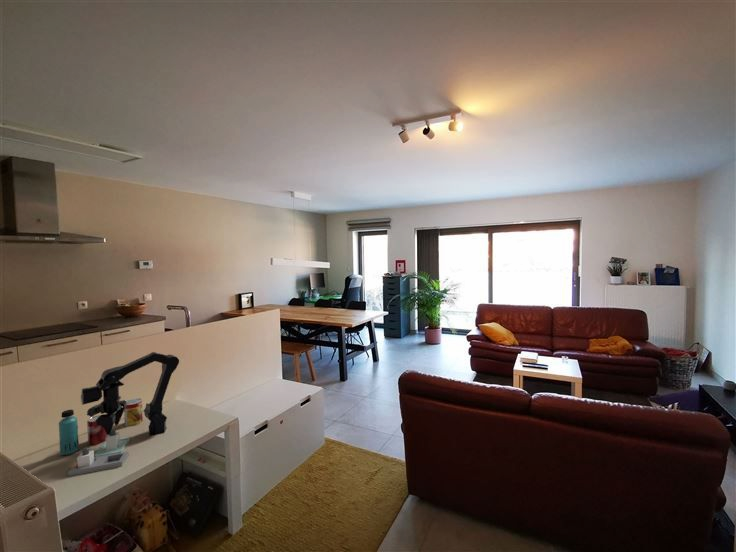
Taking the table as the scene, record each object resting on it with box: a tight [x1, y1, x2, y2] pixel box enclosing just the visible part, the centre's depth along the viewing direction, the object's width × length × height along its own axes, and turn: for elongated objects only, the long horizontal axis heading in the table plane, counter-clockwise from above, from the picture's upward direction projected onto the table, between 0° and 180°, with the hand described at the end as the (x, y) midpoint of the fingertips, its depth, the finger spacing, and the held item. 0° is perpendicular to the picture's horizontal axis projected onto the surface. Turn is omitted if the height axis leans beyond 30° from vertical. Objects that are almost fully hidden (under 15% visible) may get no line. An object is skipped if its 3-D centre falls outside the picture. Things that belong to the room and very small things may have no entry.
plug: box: [106, 428, 121, 451], centre depth 149 cm, size 4×4×8 cm
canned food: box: [123, 397, 144, 428], centre depth 173 cm, size 8×8×12 cm
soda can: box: [86, 414, 108, 446], centre depth 155 cm, size 7×7×12 cm
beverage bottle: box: [58, 409, 80, 456], centre depth 145 cm, size 6×7×20 cm
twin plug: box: [76, 446, 95, 468], centre depth 135 cm, size 4×4×8 cm
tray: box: [94, 436, 132, 457], centre depth 150 cm, size 13×10×1 cm
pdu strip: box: [68, 451, 129, 477], centre depth 136 cm, size 18×8×3 cm, turn 110°
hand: (112, 429), depth 149 cm, fingers open, 9 cm apart
